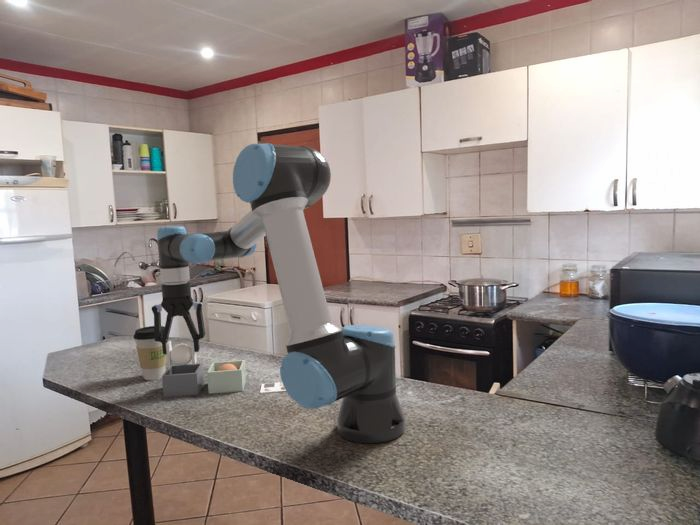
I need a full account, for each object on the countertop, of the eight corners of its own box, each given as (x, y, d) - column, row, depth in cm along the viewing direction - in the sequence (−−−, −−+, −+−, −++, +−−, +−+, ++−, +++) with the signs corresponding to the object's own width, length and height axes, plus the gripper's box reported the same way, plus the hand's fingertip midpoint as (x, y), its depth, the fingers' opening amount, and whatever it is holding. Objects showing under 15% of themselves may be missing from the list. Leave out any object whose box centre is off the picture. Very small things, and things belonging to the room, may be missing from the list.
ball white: (191, 367, 139) (189, 345, 138) (169, 369, 138) (166, 348, 138) (195, 360, 145) (193, 340, 144) (174, 362, 144) (172, 342, 144)
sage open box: (242, 391, 140) (241, 369, 139) (208, 393, 139) (207, 372, 138) (246, 379, 149) (244, 360, 148) (214, 382, 148) (212, 362, 147)
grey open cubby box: (198, 394, 139) (196, 373, 138) (163, 397, 138) (161, 376, 137) (204, 383, 148) (202, 363, 147) (172, 385, 147) (170, 365, 146)
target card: (293, 390, 138) (293, 389, 138) (260, 393, 137) (259, 392, 137) (293, 381, 145) (293, 380, 145) (261, 384, 144) (261, 383, 144)
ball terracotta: (237, 387, 141) (236, 366, 140) (215, 388, 140) (214, 367, 140) (239, 380, 147) (239, 360, 146) (218, 381, 146) (218, 361, 146)
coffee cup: (172, 379, 153) (168, 330, 151) (137, 384, 149) (132, 334, 147) (170, 369, 162) (166, 323, 160) (137, 374, 158) (133, 327, 156)
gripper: (213, 278, 144) (218, 357, 147) (144, 282, 142) (151, 362, 145) (208, 282, 136) (214, 365, 139) (135, 286, 135) (143, 370, 137)
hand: (182, 363), depth 142 cm, fingers closed on ball white, 6 cm apart
